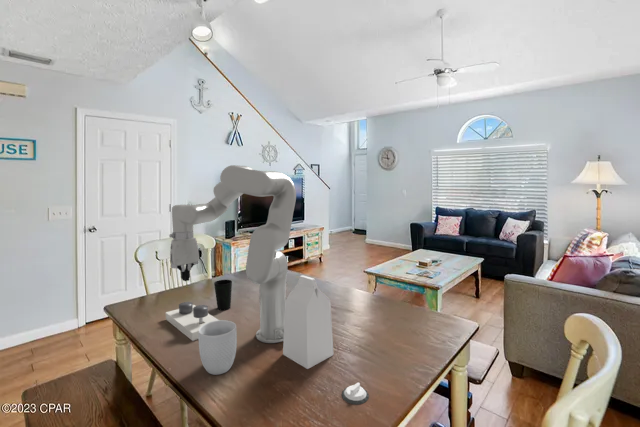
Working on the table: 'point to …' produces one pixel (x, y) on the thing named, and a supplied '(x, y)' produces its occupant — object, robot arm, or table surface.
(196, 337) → the mount
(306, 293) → the milk
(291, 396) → the table surface
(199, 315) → the knob near
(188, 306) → the knob far
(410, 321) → the table surface
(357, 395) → the stove knob
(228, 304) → the cup
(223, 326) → the mug
